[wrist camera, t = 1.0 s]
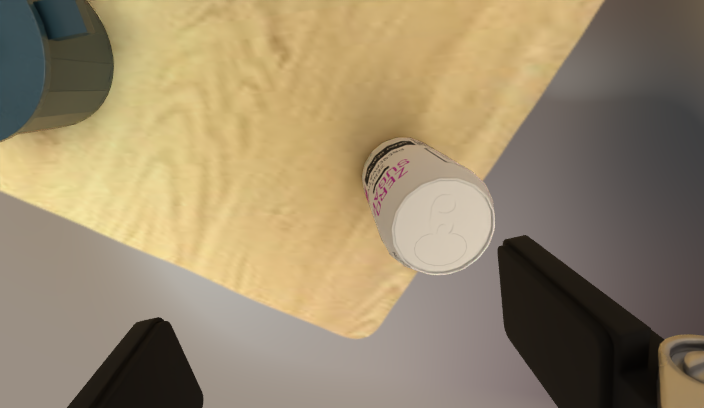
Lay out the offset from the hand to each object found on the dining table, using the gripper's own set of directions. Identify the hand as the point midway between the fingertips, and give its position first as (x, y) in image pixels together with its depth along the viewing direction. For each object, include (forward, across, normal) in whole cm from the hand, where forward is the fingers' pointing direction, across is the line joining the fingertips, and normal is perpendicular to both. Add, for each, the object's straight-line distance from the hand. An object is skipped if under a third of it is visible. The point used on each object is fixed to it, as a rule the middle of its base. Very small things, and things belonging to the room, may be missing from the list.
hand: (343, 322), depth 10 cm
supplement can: (+28, -6, +4) cm, 29 cm away
